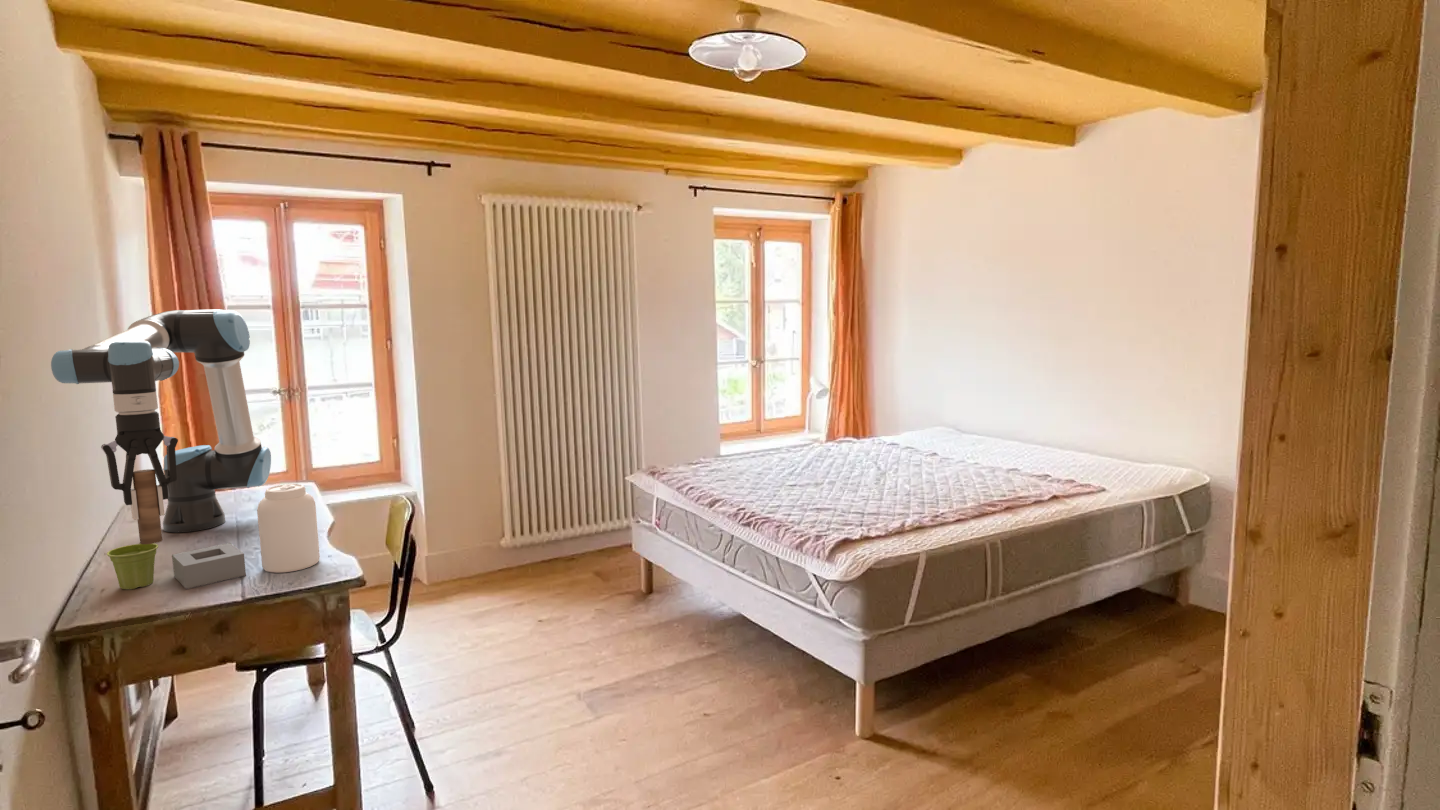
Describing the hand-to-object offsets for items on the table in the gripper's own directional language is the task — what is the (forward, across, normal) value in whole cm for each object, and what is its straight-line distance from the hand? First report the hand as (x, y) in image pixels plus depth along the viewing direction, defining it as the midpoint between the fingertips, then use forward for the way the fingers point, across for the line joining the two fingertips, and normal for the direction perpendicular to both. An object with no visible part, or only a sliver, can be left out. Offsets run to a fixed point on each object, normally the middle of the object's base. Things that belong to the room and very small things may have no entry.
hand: (148, 516), depth 167 cm
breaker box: (+18, +11, +4) cm, 21 cm away
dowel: (+6, 0, 0) cm, 6 cm away
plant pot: (+18, -2, +10) cm, 21 cm away
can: (+18, +27, -2) cm, 33 cm away
